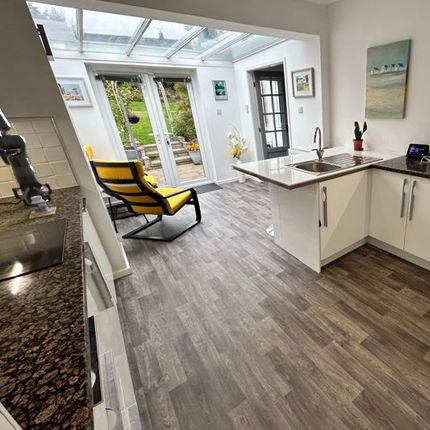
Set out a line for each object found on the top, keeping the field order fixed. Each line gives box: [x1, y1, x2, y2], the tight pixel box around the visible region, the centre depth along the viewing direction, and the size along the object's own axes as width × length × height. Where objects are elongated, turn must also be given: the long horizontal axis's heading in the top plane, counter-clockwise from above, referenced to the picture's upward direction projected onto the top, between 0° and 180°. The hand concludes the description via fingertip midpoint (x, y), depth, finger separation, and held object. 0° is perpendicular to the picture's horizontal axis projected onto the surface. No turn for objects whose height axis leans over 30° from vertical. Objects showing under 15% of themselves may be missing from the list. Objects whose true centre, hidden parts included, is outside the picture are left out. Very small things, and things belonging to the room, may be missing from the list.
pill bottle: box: [31, 196, 49, 214], centre depth 144 cm, size 5×5×9 cm
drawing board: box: [28, 206, 57, 221], centre depth 146 cm, size 16×10×1 cm, turn 42°
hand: (39, 203), depth 144 cm, fingers open, 8 cm apart
